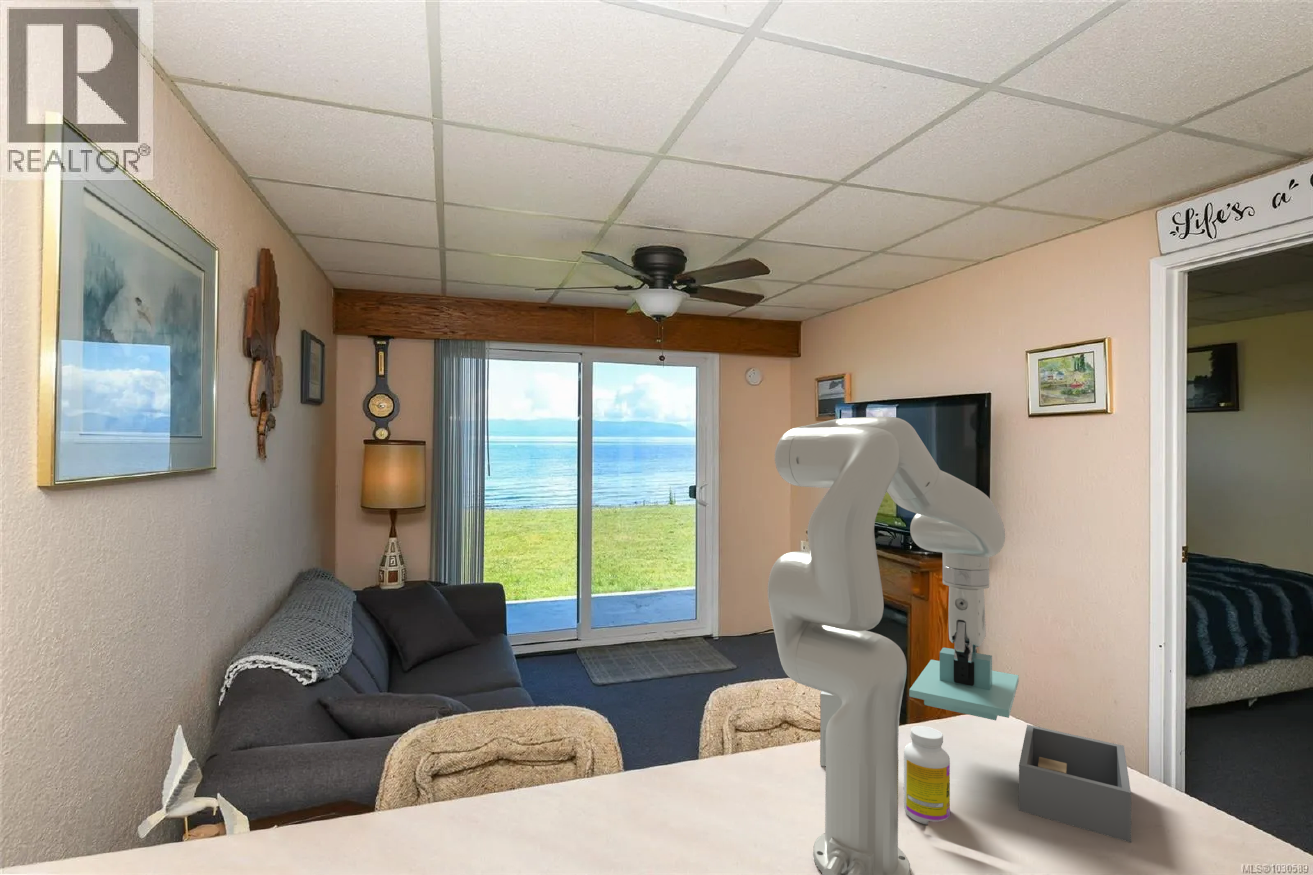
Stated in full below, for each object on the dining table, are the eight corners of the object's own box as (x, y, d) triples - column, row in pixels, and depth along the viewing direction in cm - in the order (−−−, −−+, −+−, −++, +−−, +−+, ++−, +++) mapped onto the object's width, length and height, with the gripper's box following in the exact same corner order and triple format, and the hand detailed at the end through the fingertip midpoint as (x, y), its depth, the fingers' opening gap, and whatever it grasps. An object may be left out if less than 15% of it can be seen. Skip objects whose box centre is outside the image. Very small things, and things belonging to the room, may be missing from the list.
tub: (1131, 849, 90) (1131, 792, 90) (1019, 816, 98) (1019, 764, 98) (1124, 794, 105) (1123, 745, 105) (1027, 769, 113) (1027, 724, 113)
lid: (1008, 728, 100) (1008, 678, 100) (909, 705, 108) (909, 660, 108) (1018, 690, 116) (1018, 648, 116) (931, 673, 124) (931, 634, 124)
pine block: (1066, 791, 104) (1066, 773, 104) (1037, 784, 106) (1037, 766, 106) (1066, 781, 107) (1066, 763, 107) (1039, 774, 109) (1039, 756, 109)
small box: (823, 746, 121) (823, 678, 121) (858, 752, 119) (858, 682, 119) (819, 766, 113) (819, 693, 114) (856, 772, 111) (856, 698, 111)
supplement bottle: (954, 830, 94) (955, 743, 95) (908, 824, 96) (908, 739, 96) (943, 806, 101) (944, 725, 101) (900, 801, 102) (900, 721, 102)
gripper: (983, 587, 103) (983, 700, 103) (994, 571, 117) (994, 671, 117) (934, 582, 108) (934, 690, 107) (950, 567, 121) (950, 663, 121)
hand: (965, 679), depth 112 cm, fingers closed on lid, 3 cm apart
